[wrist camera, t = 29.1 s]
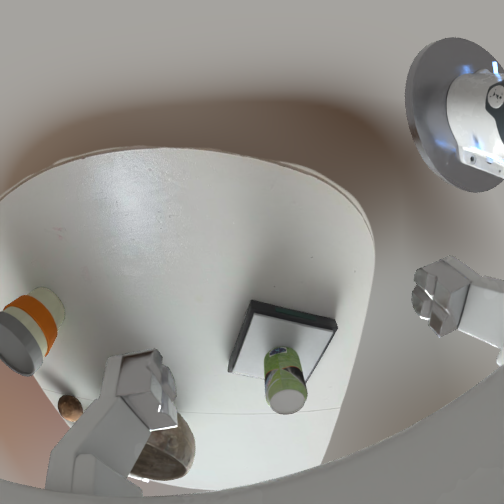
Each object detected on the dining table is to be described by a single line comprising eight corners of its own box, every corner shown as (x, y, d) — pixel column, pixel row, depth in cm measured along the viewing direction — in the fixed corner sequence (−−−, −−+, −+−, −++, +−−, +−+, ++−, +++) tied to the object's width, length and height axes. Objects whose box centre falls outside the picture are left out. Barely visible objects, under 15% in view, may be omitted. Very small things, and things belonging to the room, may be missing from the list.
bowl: (137, 358, 54) (113, 415, 40) (222, 418, 61) (217, 472, 47) (89, 396, 61) (68, 440, 47) (162, 443, 68) (152, 487, 54)
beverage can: (265, 370, 51) (266, 424, 40) (260, 339, 48) (261, 395, 37) (300, 366, 50) (308, 419, 39) (299, 335, 47) (309, 390, 36)
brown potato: (81, 424, 62) (69, 429, 56) (63, 404, 64) (50, 408, 58) (93, 407, 63) (80, 411, 57) (73, 386, 65) (60, 389, 59)
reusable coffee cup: (51, 271, 47) (4, 314, 33) (82, 325, 52) (48, 376, 38) (18, 286, 49) (-24, 325, 35) (47, 334, 53) (14, 378, 39)
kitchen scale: (335, 318, 50) (339, 329, 47) (302, 377, 55) (304, 388, 53) (251, 298, 48) (251, 309, 45) (228, 363, 54) (227, 374, 51)
